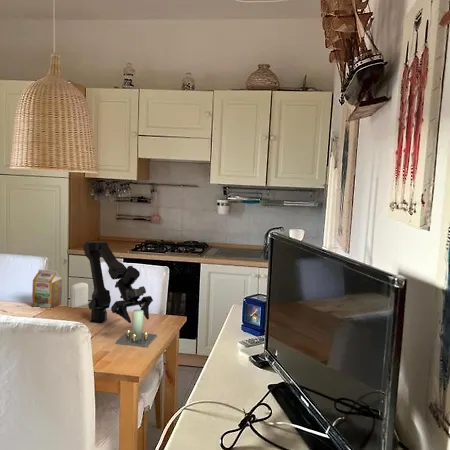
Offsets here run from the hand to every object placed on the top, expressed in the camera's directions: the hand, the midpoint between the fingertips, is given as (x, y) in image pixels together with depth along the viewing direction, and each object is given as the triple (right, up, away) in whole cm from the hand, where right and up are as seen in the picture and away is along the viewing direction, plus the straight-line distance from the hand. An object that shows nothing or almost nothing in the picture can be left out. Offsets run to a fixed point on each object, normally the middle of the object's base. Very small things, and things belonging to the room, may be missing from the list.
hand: (139, 320), depth 206 cm
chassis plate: (-2, -9, +2) cm, 9 cm away
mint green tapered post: (-2, -8, +2) cm, 8 cm away
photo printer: (-41, -2, +48) cm, 63 cm away
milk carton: (-57, -1, +44) cm, 72 cm away
